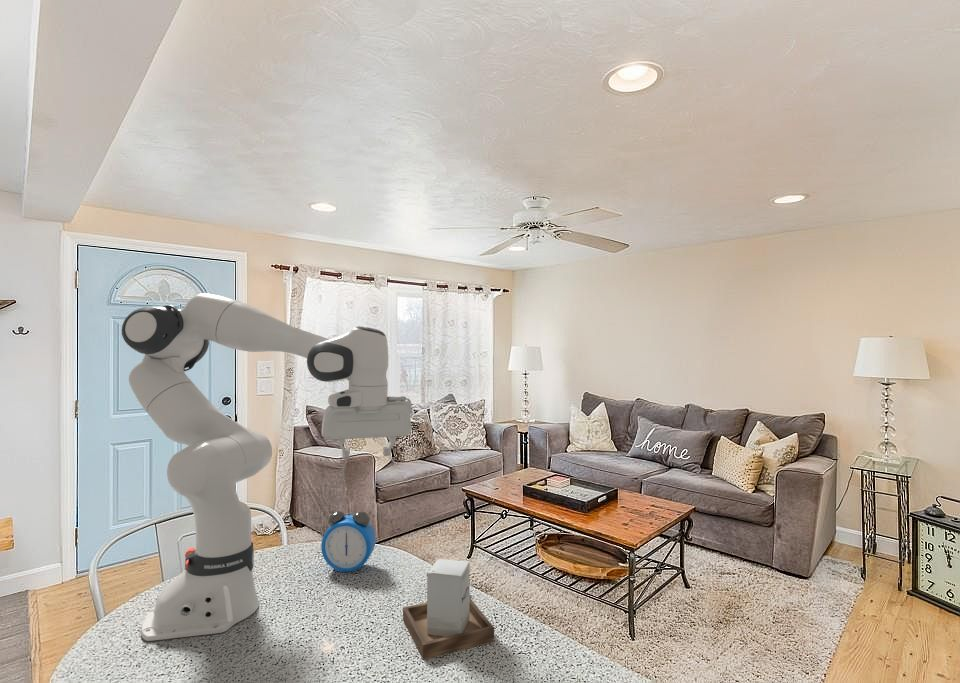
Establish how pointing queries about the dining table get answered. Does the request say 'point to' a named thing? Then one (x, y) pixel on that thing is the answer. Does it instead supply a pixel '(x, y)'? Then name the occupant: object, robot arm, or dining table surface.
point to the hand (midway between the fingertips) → (366, 456)
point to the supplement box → (448, 597)
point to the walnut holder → (433, 645)
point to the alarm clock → (348, 541)
